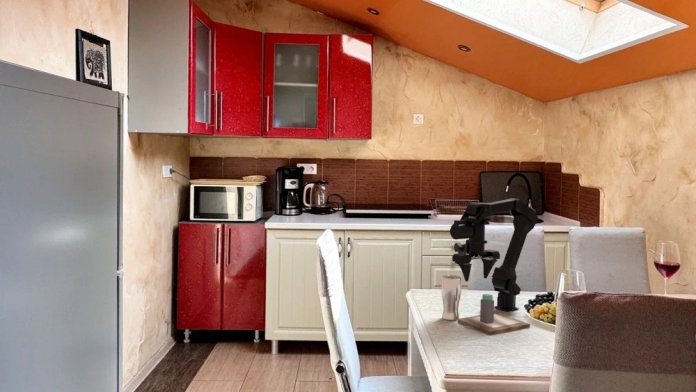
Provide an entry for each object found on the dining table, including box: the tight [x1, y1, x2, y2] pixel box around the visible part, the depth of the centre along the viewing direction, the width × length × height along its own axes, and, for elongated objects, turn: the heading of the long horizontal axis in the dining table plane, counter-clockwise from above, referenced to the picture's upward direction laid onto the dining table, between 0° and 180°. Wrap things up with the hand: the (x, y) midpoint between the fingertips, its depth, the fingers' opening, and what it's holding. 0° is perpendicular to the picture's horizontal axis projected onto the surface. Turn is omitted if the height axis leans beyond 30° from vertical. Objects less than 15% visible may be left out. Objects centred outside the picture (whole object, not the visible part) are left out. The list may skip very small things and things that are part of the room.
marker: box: [479, 293, 495, 324], centre depth 196 cm, size 3×3×9 cm
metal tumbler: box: [441, 274, 462, 322], centre depth 205 cm, size 7×7×15 cm
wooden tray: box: [457, 311, 531, 336], centre depth 198 cm, size 18×16×2 cm
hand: (476, 279), depth 210 cm, fingers open, 9 cm apart
